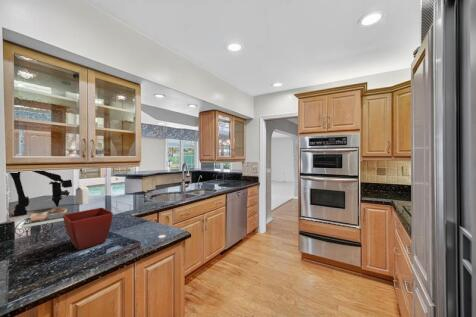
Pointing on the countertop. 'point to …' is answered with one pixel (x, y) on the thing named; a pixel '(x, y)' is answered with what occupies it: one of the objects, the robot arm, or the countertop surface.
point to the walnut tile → (57, 210)
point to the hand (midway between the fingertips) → (57, 206)
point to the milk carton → (82, 195)
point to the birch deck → (45, 213)
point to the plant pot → (88, 227)
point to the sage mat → (43, 222)
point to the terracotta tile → (38, 218)
